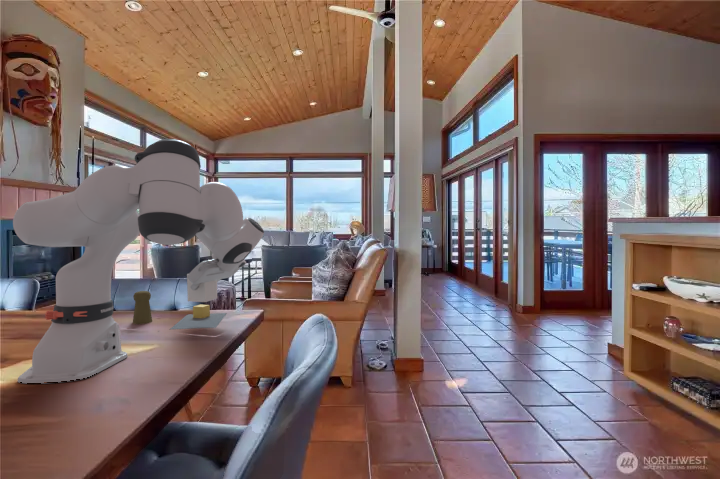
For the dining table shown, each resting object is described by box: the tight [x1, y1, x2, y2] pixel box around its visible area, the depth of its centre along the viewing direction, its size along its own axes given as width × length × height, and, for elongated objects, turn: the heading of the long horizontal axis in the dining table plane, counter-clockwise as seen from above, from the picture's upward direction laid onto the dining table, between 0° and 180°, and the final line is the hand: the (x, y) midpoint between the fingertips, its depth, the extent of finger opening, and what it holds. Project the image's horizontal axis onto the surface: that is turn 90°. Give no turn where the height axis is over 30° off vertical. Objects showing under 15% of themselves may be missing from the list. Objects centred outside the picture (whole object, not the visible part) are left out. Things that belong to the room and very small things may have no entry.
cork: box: [132, 290, 153, 325], centre depth 135 cm, size 6×6×11 cm
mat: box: [169, 312, 228, 330], centre depth 138 cm, size 22×14×1 cm, turn 10°
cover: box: [186, 273, 218, 303], centre depth 133 cm, size 7×7×9 cm
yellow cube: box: [192, 303, 211, 318], centre depth 143 cm, size 4×4×4 cm
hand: (201, 286), depth 133 cm, fingers closed on cover, 7 cm apart
